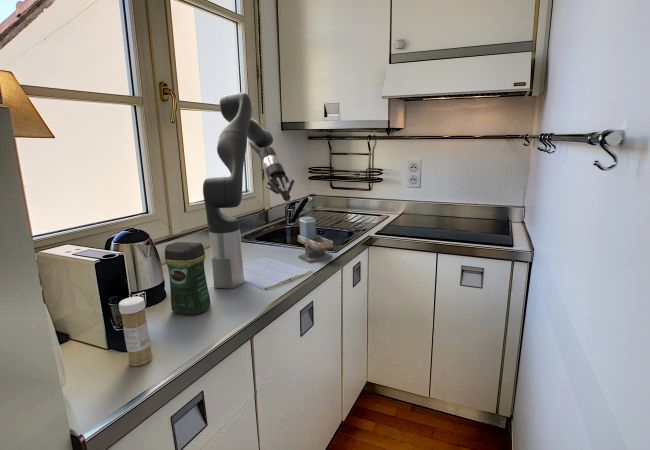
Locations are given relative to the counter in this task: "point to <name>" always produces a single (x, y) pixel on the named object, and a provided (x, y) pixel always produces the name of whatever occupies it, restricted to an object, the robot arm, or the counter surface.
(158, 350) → the counter surface
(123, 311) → the sprinkles bottle
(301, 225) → the blue gray lidded container
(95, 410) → the counter surface
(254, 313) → the counter surface
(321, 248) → the brown cleat
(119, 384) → the counter surface
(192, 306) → the coffee jar
